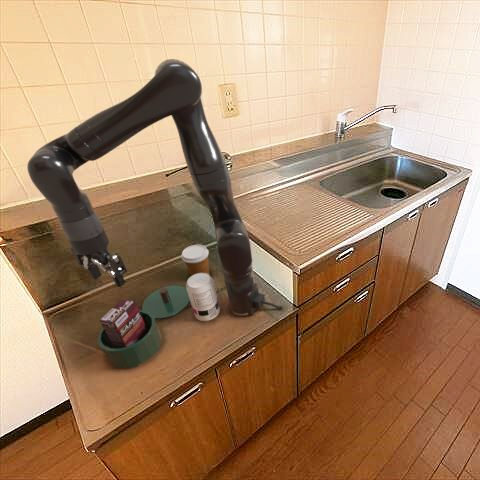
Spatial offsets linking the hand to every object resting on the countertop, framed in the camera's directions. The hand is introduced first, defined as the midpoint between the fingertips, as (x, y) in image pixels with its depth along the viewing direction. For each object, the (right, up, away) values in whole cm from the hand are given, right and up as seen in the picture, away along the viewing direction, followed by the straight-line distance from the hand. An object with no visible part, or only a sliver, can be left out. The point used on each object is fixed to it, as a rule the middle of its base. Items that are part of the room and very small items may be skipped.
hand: (109, 281), depth 85 cm
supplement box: (+1, -21, +11) cm, 24 cm away
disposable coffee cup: (+11, -3, +38) cm, 39 cm away
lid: (+3, -11, +25) cm, 28 cm away
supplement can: (+19, -14, +22) cm, 32 cm away
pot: (+1, -21, +11) cm, 24 cm away
